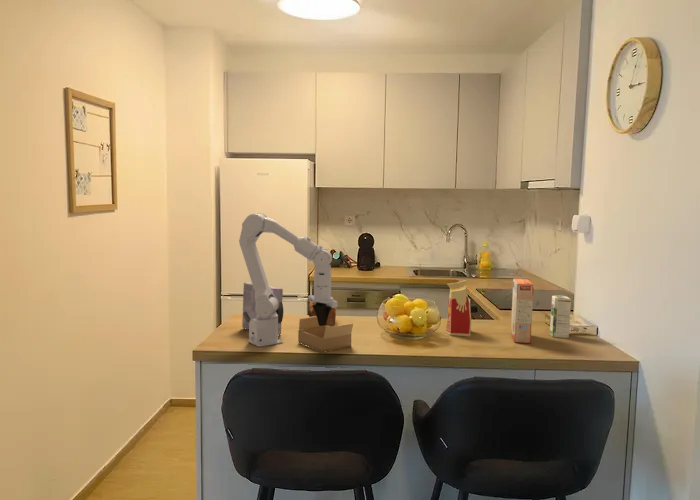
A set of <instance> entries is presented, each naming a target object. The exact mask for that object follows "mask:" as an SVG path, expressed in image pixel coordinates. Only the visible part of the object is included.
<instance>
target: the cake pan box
mask: <svg viewBox="0 0 700 500" xmlns="http://www.w3.org/2000/svg"><path fill="white" fill-rule="evenodd" d="M269 287H270V288H271V290H272V291H273V294H274V296H275V297H276V298H277V299H278V301H279V307H278V309H277V311H276V313H277V314H278V335H280V334H281V335H282V322H283V318H284V305H283V293H284V292H283V290H284V289H283V288H281V287H276V286H271V285H269ZM242 296H243V297H242V320H241V321H242V322H241V324H242V325H241V328H242V327H243V328H246V329H249V322H250V320H251V319H255V318H256V317H257V313H256V311H255V306H256V302H255V290H254V287H253V284H252V281H251V282H250V281H249V282H243V295H242ZM246 329H245V330H246Z"/></svg>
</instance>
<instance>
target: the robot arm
mask: <svg viewBox="0 0 700 500" xmlns="http://www.w3.org/2000/svg"><path fill="white" fill-rule="evenodd" d="M263 233H267V234H268V233H269V234H274V235H276V236H278V237H279V238H281V239H283V240H285V241H286V242H288V243H289V244H291V245H292V246H293V248H294V251H295V252H297V253H298V254H299V255H301V256H302V257H304V258H306V259H307V260H308V261H312V263H313V265H314V273H313V282H314V283H313V284H314V285H313V294H311V295H308V297H307V298H308V299H307V300H308V302H311V301H312V302H316V304H315V305H312V307H313V309H314V311H315V313H316V316H317V320H318V324H319V326H325V325H326V323H327V319H328V315H329V313H330V311H331V309H332V308H335V307H336V308H338V302H339V301H337V300H335V299H334V297H332V271H331V270H332V266H331V265H332V264H331V263H332V261H333V255H332V253H331V252H330V251H329V249H327V248H324V246H323V245H318V244H317V243H315V242H314V241H312V238H311V237H309V236H307V237H306V236H298V235H296V234H295V233H294V232H292V231H291V230H290V229H288V228H286V226H284V225H282V224H281V223H280V222H278V221H276V220H275V219H273V218H271V217H270V216H267V215H266V214H264V213H259V212H258V213H252V214H249V215H248V216H246V218H245V219H244V221H243V222H242V223H241V231H240V235H239V240H238V242H239V246H240V250H241V252H242V256H243V259H244V262H245V265H246V268H247V272H248V275H249V278H250V281H251V282H252V284H253V287H254V290H255V302H256V306H255V311H256V313H257V317H256V318H255V319H251V320H250V322H249V330H248V341H247V342H248V343H249V342H250V344H251V345H254V346H256V347H259V348H260V347H266V346H270V345H278V344H282V343H284V341H283V340H282V339H279V336H278V314H277V313H276V311H277V309H278V307H279V301H278V299H277V298H276V297H275V296H274V294H273V291H272V290H271V288H270V287H269V286H270V284H269V282H268V279H267V276H266V273H265V269H264V266H263V263H262V260H261V257H260V254H259V251H258V247H257V244H256V242H257V241H258V240H259V238H260V236H261V235H262V234H263Z"/></svg>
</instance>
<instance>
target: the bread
mask: <svg viewBox="0 0 700 500" xmlns="http://www.w3.org/2000/svg"><path fill="white" fill-rule="evenodd" d="M315 304H316V302H312V301H309V303H308V317H314V316H316V313H315V311H314V309H313V307H312V305H315ZM336 310H337V307H335V308H332V309H331V311H330V313H329V315H328V319H327V323H326V326H330V327H331V326H336V315H337V311H336Z"/></svg>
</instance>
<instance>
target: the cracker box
mask: <svg viewBox="0 0 700 500" xmlns="http://www.w3.org/2000/svg"><path fill="white" fill-rule="evenodd" d="M534 286H535V284H533V282H532V281H531V280H530V279H527V278H513V281H512V300H511V301H512V302H511V321H510V322H511V323H510V335H511V338H512V340H513V342H514V343H517V344H518V343H519V344H531V342H532V341H531V340H532V321H533V304H534V303H533V302H534V291H535V290H534Z"/></svg>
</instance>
